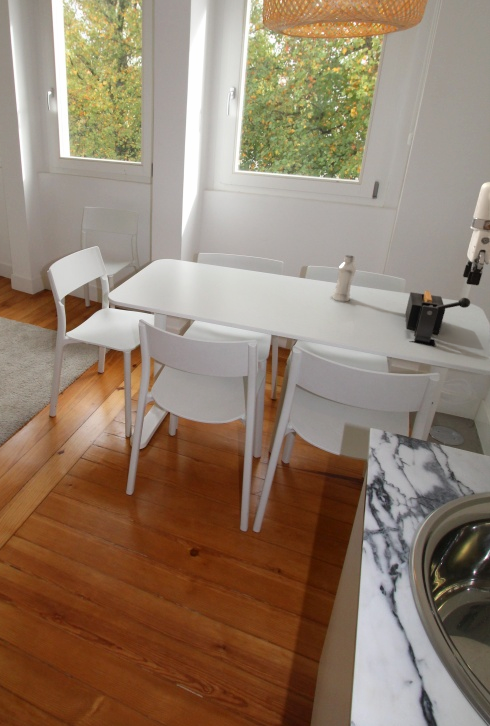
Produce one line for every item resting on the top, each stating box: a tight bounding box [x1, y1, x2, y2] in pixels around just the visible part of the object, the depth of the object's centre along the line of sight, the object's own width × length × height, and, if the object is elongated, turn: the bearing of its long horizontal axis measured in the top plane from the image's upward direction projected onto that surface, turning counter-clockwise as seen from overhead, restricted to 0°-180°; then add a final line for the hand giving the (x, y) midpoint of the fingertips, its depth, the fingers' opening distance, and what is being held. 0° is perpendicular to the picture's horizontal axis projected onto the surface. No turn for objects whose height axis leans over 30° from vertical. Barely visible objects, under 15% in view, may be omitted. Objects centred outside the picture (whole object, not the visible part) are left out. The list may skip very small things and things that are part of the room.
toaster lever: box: [428, 297, 471, 310], centre depth 152 cm, size 13×3×3 cm, turn 65°
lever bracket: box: [408, 301, 438, 348], centre depth 156 cm, size 8×8×14 cm
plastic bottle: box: [332, 254, 356, 302], centre depth 188 cm, size 6×7×20 cm
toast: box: [423, 290, 432, 303], centre depth 167 cm, size 2×10×10 cm, turn 155°
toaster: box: [404, 292, 446, 336], centre depth 168 cm, size 10×14×11 cm
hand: (470, 280), depth 147 cm, fingers open, 6 cm apart
